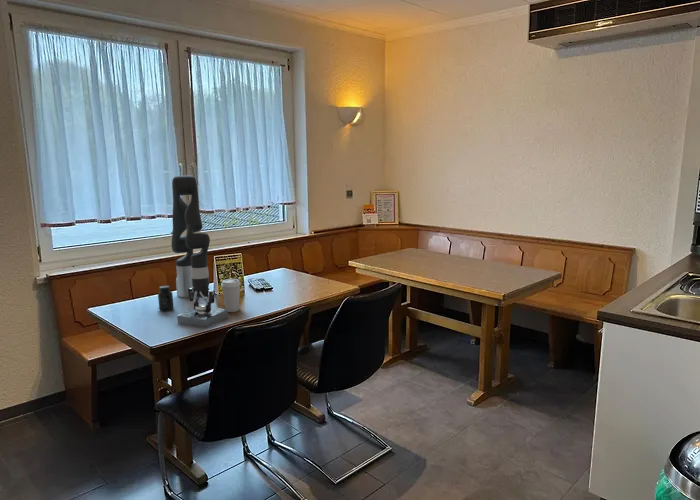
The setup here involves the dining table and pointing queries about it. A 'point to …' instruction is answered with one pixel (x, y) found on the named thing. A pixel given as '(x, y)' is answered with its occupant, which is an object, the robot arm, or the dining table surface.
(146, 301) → the dining table surface
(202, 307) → the bushing
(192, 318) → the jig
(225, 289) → the coffee cup
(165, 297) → the supplement bottle
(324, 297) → the dining table surface
